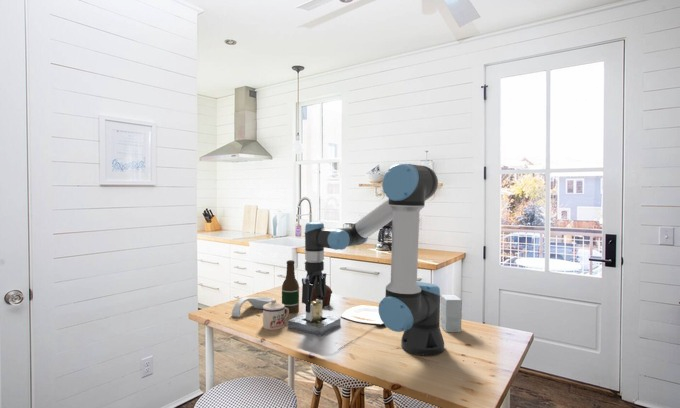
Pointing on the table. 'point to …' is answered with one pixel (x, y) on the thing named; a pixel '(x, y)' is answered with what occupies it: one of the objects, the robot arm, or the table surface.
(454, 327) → the small box
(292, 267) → the beer bottle
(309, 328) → the frame
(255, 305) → the spoon rest
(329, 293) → the muffin
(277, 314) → the teacup with lid
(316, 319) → the yellow can
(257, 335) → the table surface
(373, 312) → the plate
